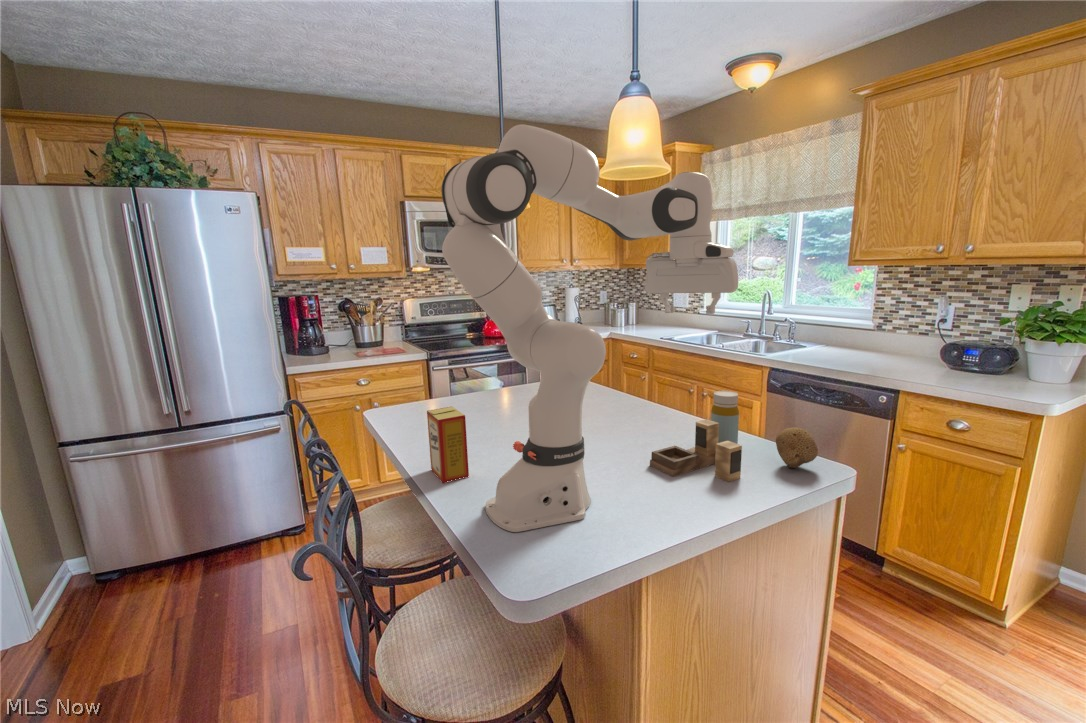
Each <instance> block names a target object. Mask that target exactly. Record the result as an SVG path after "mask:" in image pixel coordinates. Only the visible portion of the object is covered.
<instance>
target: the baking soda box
mask: <svg viewBox="0 0 1086 723" xmlns="http://www.w3.org/2000/svg"><path fill="white" fill-rule="evenodd" d="M426 415H427V417H426V418H427V430H428V432H427V433H428V443H429V456H430V457H429V458H430V469H432V470H431V472H432V473H433V474H434V473H435V474H436V475H437V476H438V477H437V476H436V475H435V474H434V475H435V476H436V477H437V478H438V479H439V480H441V481H442V482H443V483H442V482H441V481H440V482H441V483H442V484H445V483H444V482H447V481H451V480H455V479H459V478H463V477H468V476H469V477H470V474H469V471H470V470H469V455H468V442H467V426H466V424H467V423H466V415H465V414H464V413H462V412H461V411H459V410H458V409H457V408H455V407H454V406H447V407H443V408H442V407H441V408H435V409H428V410H426ZM469 477H468V478H469ZM463 479H464V478H463ZM459 480H460V479H459ZM455 481H456V480H455ZM451 482H452V481H451ZM447 483H448V482H447Z"/></svg>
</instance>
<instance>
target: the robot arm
mask: <svg viewBox="0 0 1086 723" xmlns="http://www.w3.org/2000/svg"><path fill="white" fill-rule="evenodd" d="M599 179H600V165H599V161H598V158H597V156H596V153H594V152H592V150H590V149H589V148H588V147H587V146H585V145H583V144H581V143H580V142H578V141H576V140H574V139H571V138H569V137H566V136H564V135H562V134H560V133H558V132H557V133H556V132H555V131H552V130H548V129H545V128H542V127H537V126H535V125H534V126H533V125H527V124H516V125H514V126H512V127H511V128H510V129H509V130H508V131H507V132H506V133H505V134H504V135H503V137H502V139H501V141H500V144H499V148H498V151H497V152H493V153H489V154H487V155H482V156H481V155H479V156H472V157H470V158H467V159H466V160H463V161H461V162H458V163H457V164H454V165H453V166H452V167H451V168H449V170H448V171H447V172H446V174H445V175H444V178H443V179H442V183H441V187H440V188H441V189H440V190H441V198H442V199H441V200H442V203H443V206H444V209H445V213H446V218H447V222H448V224H449V225H450V226H451V227H452V229H450V230H449V231H448V233H447V234H446V235H445V238H444V239H443V240H444V241H443V242H442V247H441V250H442V252H441V253H442V255H443V258H444V260H445V262H446V264H447V265H448V267H449V269H450V270H451V272H452V273H453V275H454V276H455V278H456V279H457V280H458V282H459V283H460V285H461V286H462V287H463V289H464V290H465V291H466V292H467V293H468V294H469V296H471V298H472V299H473V300H474V301H475V303H476V304H477V305H479V307H480V308H481V309H482V310H483V311H484V313H485V314H486V315H487V316H488V317H489V318H490V319H491V320H492V321H493V323H494V324H495V326H496V327H497V328H498V330H499V331H500V332H501V334H502V337H503V338H504V340H505V342H506V348H507V351H508V354H509V355H510V357H511V358H513V360H514V361H515V362H517V363H518V364H520V365H521V366H522V367H524V368H526V369H529V370H532V371H536V372H538V373H539V372H540V380H539V381H540V382H539V386H538V389H537V393H536V395H534V396H533V397H532V398H531V399H530V401H529V403H528V405H527V406H528V432H529V433H528V434H529V435H528V436H529V437H528V439H527V440H526V443H525V444H524V443H522V442H521V441H519V440H517V441H514V444H512V449H514V451H516V452H517V453H522V455H521V456H522V457H521V458H520V459H519V460H518V461H517V462H516V463H515V464H513V466H511V467H510V469H509V470H507V472H505V473H504V474H503V475H502V476H501V477H500V478H499V479H498V482H497V484H496V488H495V490H496V491H495V496H494V497H493V498H490V499H488V500H486V502H485V513H486V514H487V517H488V518H489V519H490V520H491V521H492V522H493V523H494V524H496V526H498V527H499V528H501V529H503V530H506V531H508V532H512V533H519V532H524V531H529V530H530V531H531V530H535V529H540V528H545V527H549V526H556V525H559V524H560V525H561V524H565V523H570V522H575V521H581V520H584V519H585V517H586V510H587V509H588V508H589V506H590V505H591V500H592V499H591V496H590V493H589V489H588V486H587V480H586V476H585V466H584V458H585V438H584V437H583V404H584V397H585V394H586V390H587V389H588V388H587V387H588V385H589V383H590V381H591V379H592V378H593V377H594V376H596V375H597V374H598V373H599V372H600V371H601V369H602V368H603V366H604V363H605V359H606V355H607V348H606V343H605V341H604V338H603V337H602V335H601V334H600V333H599V332H598V331H596V330H594V329H592V328H590V327H589V326H587V325H584V324H582V323H578V322H572V321H571V322H570V321H563V320H562V321H561V320H557V319H556V318H554V317H553V316H551V315H550V314H549V313H548V312H547V310H546V308H545V307H544V304H543V301H542V300H543V289H542V288H541V287H542V286H540V285H539V284H538V281H536V279H535V278H534V276H532V274H531V273H530V272H529V270H528V269H527V268H526V266H525V265H524V264H523V263H522V262H521V260H520V259H519V258H518V256H517V255H516V254H515V253H514V252H513V251H512V249H511V247H509V245H507V242H506V241H505V239H504V236H503V233H502V229H501V224H502V225H503V224H506V223H509V222H511V221H513V220H515V219H517V218H518V217H519V216H520V215H521V214H523V212H524V211H525V210H526V208H527V206H528V205H529V202H530V200H531V197H532V194H534V195H536V196H539V197H542V198H543V199H547V200H549V201H552V202H555V203H558V204H561V205H564V206H568V207H570V208H572V209H574V210H576V211H578V212H581V213H582V214H585V215H586V216H589V217H591V218H592V219H595V220H597V221H599V222H601V223H603V224H604V225H606V226H608V227H609V228H610V229H611V230H612V231H613V232H614V233H615V234H616V235H617V236H618V237H619V238H620V239H622V240H625V241H628V242H630V241H636V240H640V239H646V238H654V237H661V236H668V235H669V251H665V252H653V253H651V254H650V255H648V257H647V258H646V259H645V270H646V272H645V274H646V275H645V280H644V281H645V282H644V289H645V291H646V292H647V294H659V299H660V301H661V302H662V304H663V305H664V313H665V314H673V313H674V304H671V303H670V302H669V300H668V298H670V294H711V299H713V300H712V301H711V302H710V305H706V306H705V314H706V315H714V314H715V312H716V305H717V304H718V302H719V300H720V299H721V297H722V296H721V294H731V293H734V292H736V291H737V290H738V289H739V273H738V272H739V271H738V266H737V265H738V264H737V262H736V260H734V259H733V258H732V257H733V256H734V254H735V252H734V251H735V250H734V248H733V247H732V246H727V245H723V244H721V243H719V242H713V241H712V237H713V236H712V230H711V220H712V217H713V190H712V186H711V182H710V178H709V177H708V175H705V174H704V173H701V172H695V171H693V172H692V171H685V172H680V173H677V174H675V175H674V176H673V178H672V179H671V180H670V181H668V182H667V183H665V184H663V185H662V186H658V187H657V188H653V189H651V190H646V191H642V192H638V193H631V194H625V195H624V194H623V195H618V194H615V193H613V192H612V191H609V190H608V189H606V188H603V187H602V186H600V185H598V184H599Z"/></svg>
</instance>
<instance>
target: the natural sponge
mask: <svg viewBox="0 0 1086 723" xmlns="http://www.w3.org/2000/svg"><path fill="white" fill-rule="evenodd" d="M775 444H776V449H777V453H778V455H779V457H780V459H781V460H782V462H784V464H785V465H786V466H787V467H788V468H798V467H800V466H802V465H804V464H809V463H810V462H813V461H814V460H815V459H816V458H817V457H818V454H819V448H818V445H817V443H816V441H815V439H814V437H813V436H812V435H811V433H809V431H807V430H806V429H804V428H801V427H797V426H795V427H788V428H785V429H782V430H781V431H780V432H779V433H778V434H777V435H776V437H775Z"/></svg>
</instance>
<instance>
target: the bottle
mask: <svg viewBox="0 0 1086 723" xmlns="http://www.w3.org/2000/svg"><path fill="white" fill-rule="evenodd" d="M712 399H713V403H712V404H713V405H712V407H711V411H710V412H711V413H710V420H711V421H714V422H717V423H719V439H718V443H721V442H724V441H730V442H733V443H736V444H739V443H738V442H739V441H738V440H739V422H740V420H739V418H740V410H739V407H738V402H739V393H738V392H736V391H730V390H718V391H713V398H712Z"/></svg>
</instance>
